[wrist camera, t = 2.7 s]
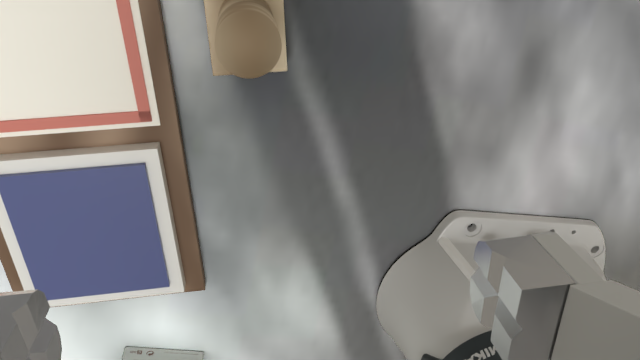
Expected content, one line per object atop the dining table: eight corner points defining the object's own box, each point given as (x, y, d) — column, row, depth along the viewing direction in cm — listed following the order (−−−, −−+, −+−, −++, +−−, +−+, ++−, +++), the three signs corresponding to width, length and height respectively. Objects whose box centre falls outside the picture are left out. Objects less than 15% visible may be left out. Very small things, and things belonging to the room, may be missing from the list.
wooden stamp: (278, -44, 34) (292, -28, 26) (284, 61, 37) (298, 105, 29) (201, -41, 34) (190, -23, 25) (214, 66, 37) (208, 112, 29)
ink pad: (159, 141, 38) (156, 150, 36) (185, 282, 44) (184, 295, 42) (-17, 155, 36) (-27, 165, 35) (36, 299, 42) (29, 312, 41)
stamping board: (141, -111, 31) (139, -111, 30) (205, 282, 45) (205, 289, 44) (-130, -104, 29) (-141, -105, 29) (24, 302, 44) (20, 310, 43)
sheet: (119, -105, 30) (118, -105, 30) (160, 124, 37) (160, 126, 37) (-116, -99, 29) (-118, -99, 29) (-28, 139, 36) (-29, 140, 35)
